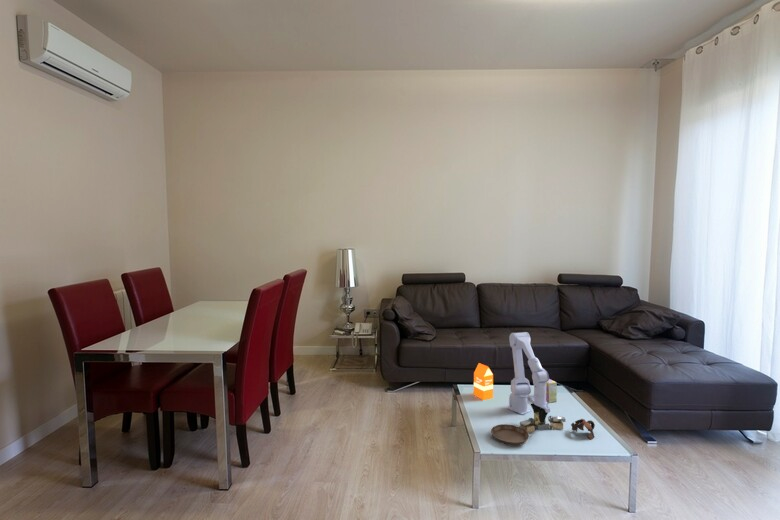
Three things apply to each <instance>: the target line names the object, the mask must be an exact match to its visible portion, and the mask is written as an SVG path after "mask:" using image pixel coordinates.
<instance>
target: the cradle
mask: <svg viewBox="0 0 780 520" xmlns="http://www.w3.org/2000/svg"><path fill="white" fill-rule="evenodd" d="M533 425H534V429H536V431H543V430H546V431H547V430H550V422H549V423H545V424H539V425H537V426H536V425H535V424H533Z"/></svg>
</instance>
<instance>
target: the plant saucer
mask: <svg viewBox="0 0 780 520" xmlns="http://www.w3.org/2000/svg"><path fill="white" fill-rule="evenodd" d="M490 433H491V435H492V437H493V438H494V439H495V440H496V441H497V442H499V443H500V444H503V445H505V446H511V447H514V446H515V447H516V446H522V445H524V444H525V443H526V442H527V441H528V440H529V438H530V434H529V433H528V432H527V431H525V430H524V429H522V428H520V426H517V425H515V424H514V425H513V424H507V423H506V424H498V425H495V426H494V425H493V426H492V428H491V430H490Z"/></svg>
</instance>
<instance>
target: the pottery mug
mask: <svg viewBox="0 0 780 520" xmlns="http://www.w3.org/2000/svg"><path fill="white" fill-rule="evenodd" d="M570 426H571V430H572V431H573V432H574V431H575V432H576V433H578V430H581V431H585V429H584V427H585V428H586V429H587V432H589V434H588V435H587V437H588V439H589V440H591V441H592V440H593V439H594V438H595V434H594V429H595V427H596V424H595V422H594V421H593V420H591V419H590V420H587V421H586V420H585V419H584V418H581V419H577V420H575V421H574V422H572V423H571V424H570Z"/></svg>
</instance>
